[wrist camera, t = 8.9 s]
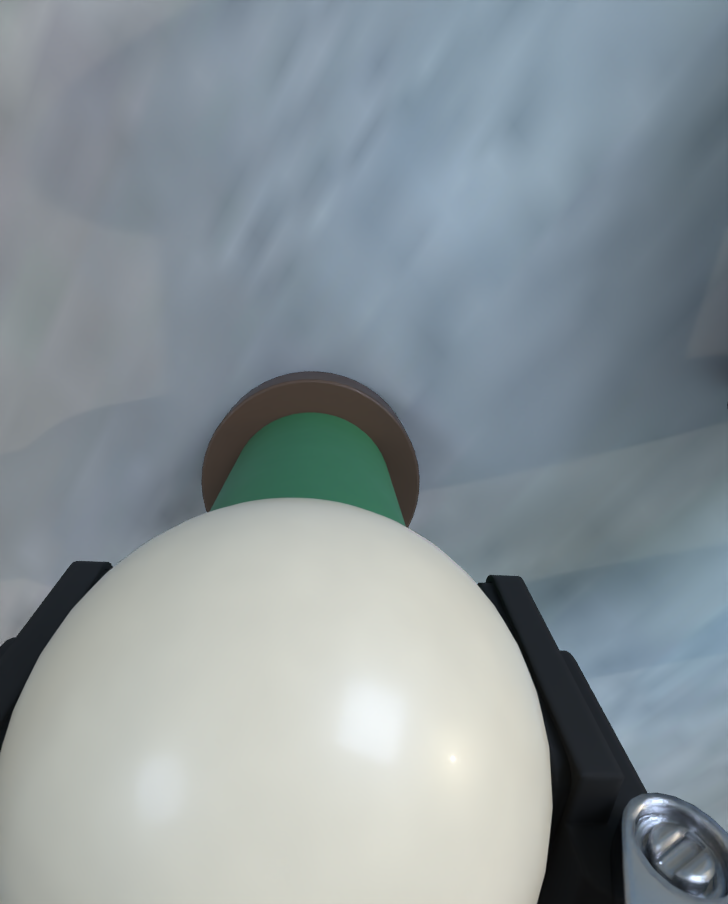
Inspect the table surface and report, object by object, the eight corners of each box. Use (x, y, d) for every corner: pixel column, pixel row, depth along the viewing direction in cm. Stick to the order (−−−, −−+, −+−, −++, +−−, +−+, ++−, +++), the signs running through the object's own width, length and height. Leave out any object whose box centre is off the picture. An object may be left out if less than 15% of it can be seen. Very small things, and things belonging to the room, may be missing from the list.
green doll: (-351, 736, 3) (-127, 1347, 4) (794, 747, 3) (599, 1297, 5) (210, 365, 15) (212, 557, 16) (421, 376, 15) (403, 563, 17)
